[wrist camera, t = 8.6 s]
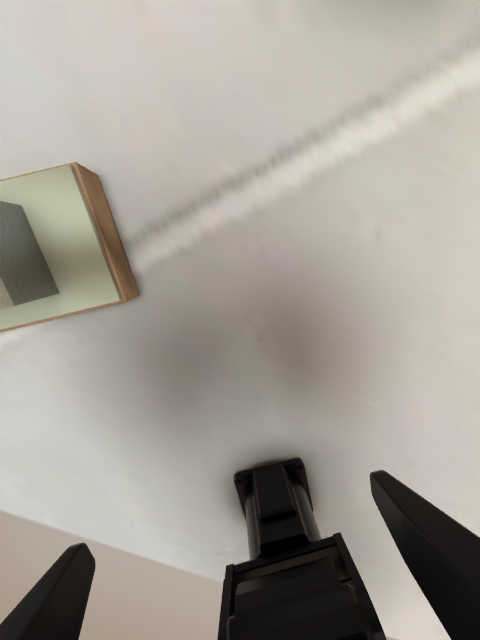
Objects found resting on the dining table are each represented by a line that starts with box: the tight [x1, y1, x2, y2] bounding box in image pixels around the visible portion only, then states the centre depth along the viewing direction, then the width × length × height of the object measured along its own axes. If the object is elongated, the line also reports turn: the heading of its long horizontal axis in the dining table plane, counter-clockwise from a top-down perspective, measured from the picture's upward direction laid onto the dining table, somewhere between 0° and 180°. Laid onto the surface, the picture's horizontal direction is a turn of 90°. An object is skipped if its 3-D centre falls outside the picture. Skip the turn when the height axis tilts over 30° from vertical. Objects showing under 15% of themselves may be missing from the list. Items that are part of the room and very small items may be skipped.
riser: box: [0, 162, 139, 332], centre depth 16 cm, size 8×12×3 cm, turn 103°
